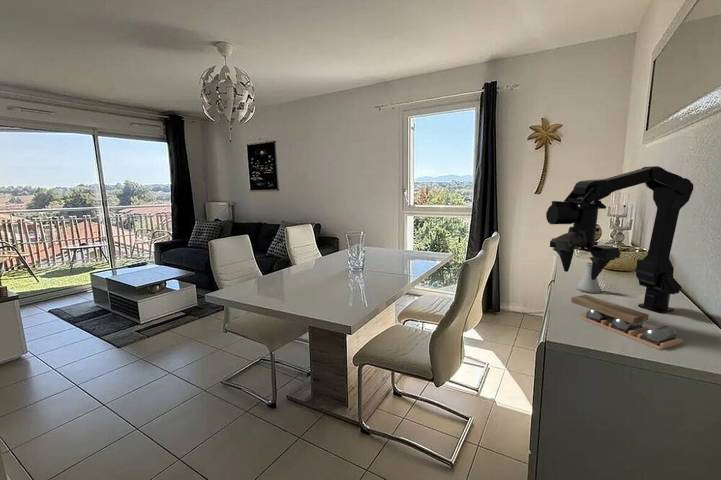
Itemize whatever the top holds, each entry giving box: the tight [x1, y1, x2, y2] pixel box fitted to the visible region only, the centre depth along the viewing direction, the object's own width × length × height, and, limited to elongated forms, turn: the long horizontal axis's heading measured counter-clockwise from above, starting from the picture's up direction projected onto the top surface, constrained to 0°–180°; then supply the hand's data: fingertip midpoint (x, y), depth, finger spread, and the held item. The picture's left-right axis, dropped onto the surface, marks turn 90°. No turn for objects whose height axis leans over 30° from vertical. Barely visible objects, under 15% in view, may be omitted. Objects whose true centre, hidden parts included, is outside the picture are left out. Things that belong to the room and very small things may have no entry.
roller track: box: [580, 313, 685, 351], centre depth 90 cm, size 9×20×1 cm, turn 20°
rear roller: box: [585, 309, 614, 323], centre depth 97 cm, size 7×4×4 cm
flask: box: [576, 262, 602, 294], centre depth 122 cm, size 7×7×10 cm
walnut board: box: [570, 294, 650, 324], centre depth 95 cm, size 6×17×2 cm, turn 20°
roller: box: [642, 325, 678, 346], centre depth 84 cm, size 4×7×4 cm, turn 110°
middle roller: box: [611, 319, 644, 333], centre depth 90 cm, size 7×4×4 cm, turn 110°
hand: (579, 275), depth 102 cm, fingers open, 9 cm apart
